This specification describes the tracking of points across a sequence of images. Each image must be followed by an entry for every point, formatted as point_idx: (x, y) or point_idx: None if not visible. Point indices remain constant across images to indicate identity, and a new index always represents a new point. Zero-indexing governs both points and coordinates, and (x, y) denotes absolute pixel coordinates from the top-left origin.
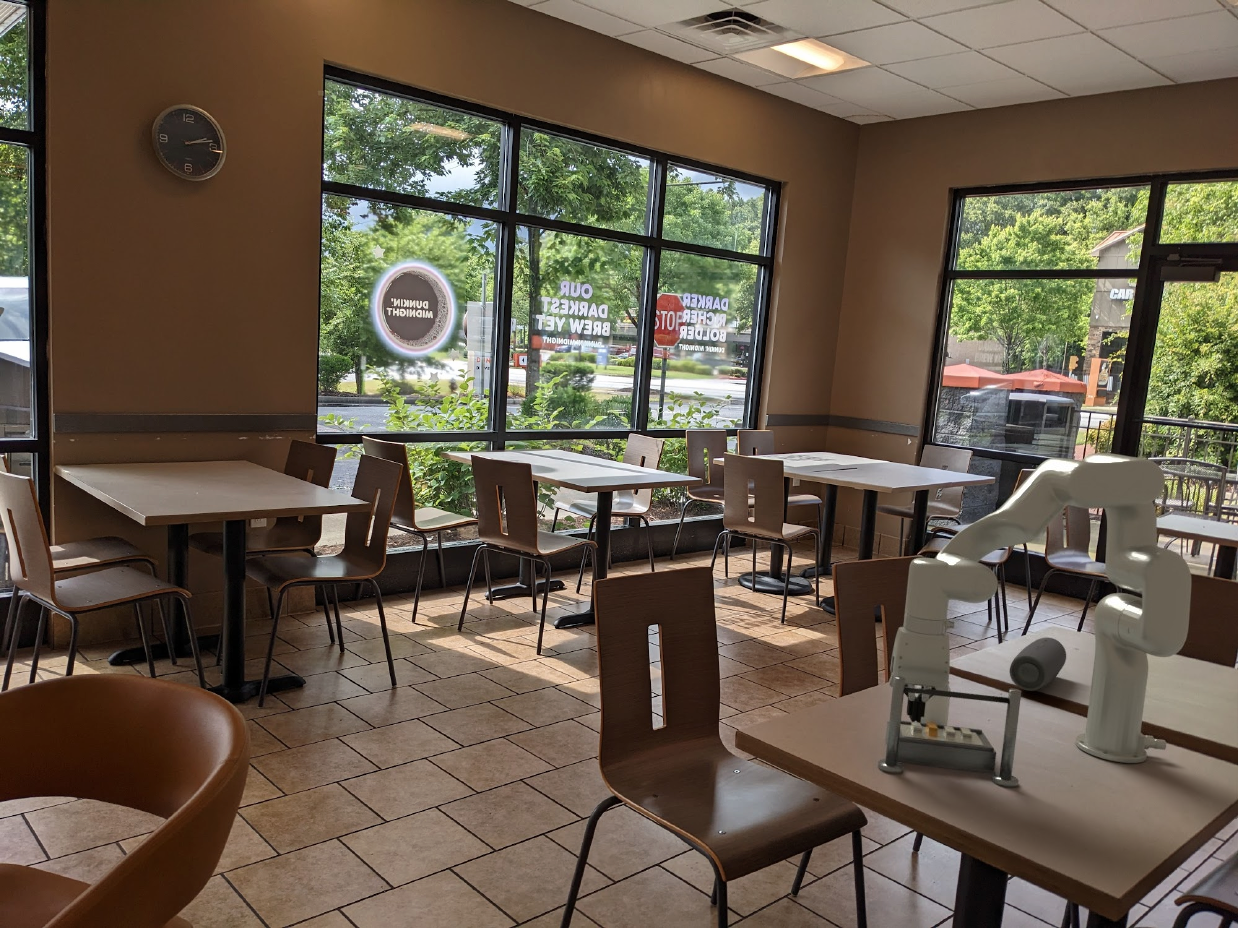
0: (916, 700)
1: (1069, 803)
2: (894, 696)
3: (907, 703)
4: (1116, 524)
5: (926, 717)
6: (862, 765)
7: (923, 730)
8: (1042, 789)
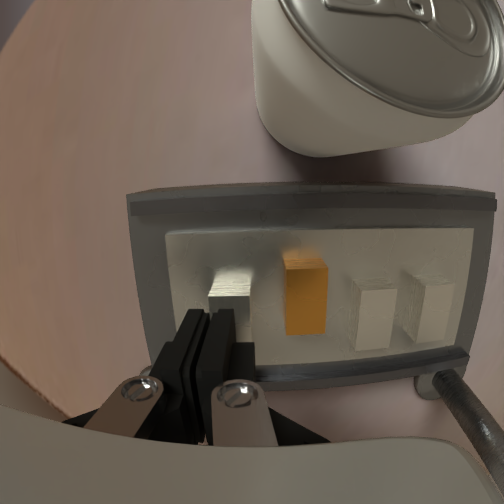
0: (196, 422)
1: (495, 402)
2: None
3: (153, 367)
4: None
5: (306, 144)
6: (106, 383)
7: (270, 278)
8: (489, 369)
